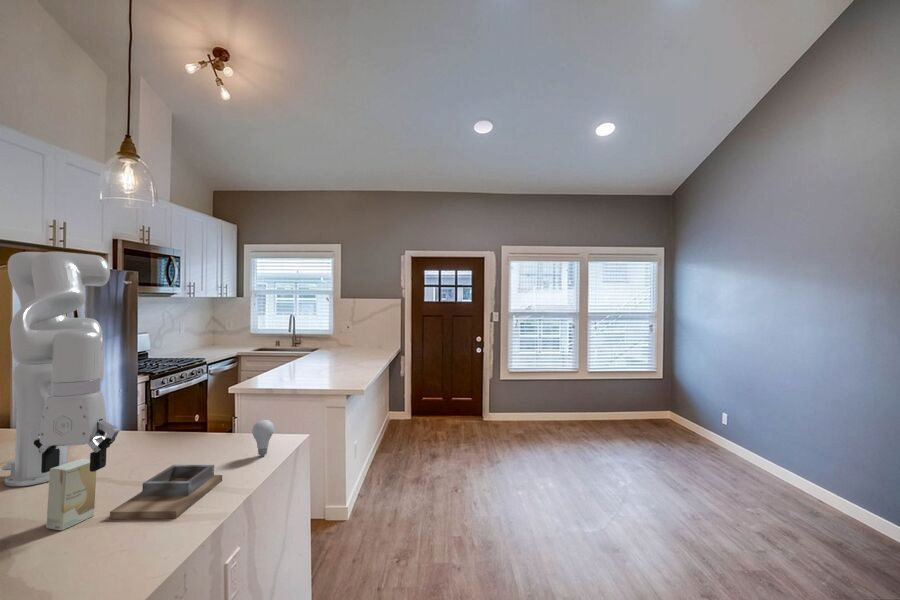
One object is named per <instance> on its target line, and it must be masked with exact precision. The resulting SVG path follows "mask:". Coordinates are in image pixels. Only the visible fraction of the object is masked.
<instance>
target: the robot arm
mask: <svg viewBox="0 0 900 600" xmlns="http://www.w3.org/2000/svg"><path fill="white" fill-rule="evenodd" d="M110 269H111V268H110V266H109V264H108V261H107V260H106V259H105V258H103V257H102V256H101V255H98V254H97V255H96V254H91V253H90V254H89V253H86V254H85V253H77V252H69V251H68V252H66V251H46V252H45V251H44V252H43V251H24V252H23V251H20V252H16V253H13V254H12V255H11V256H10V257H9V258H8V261H7V274H8V278H9V281H10V284H11V286H12V288H13V290H14V291H15V294H16V296H17V297H18V299H19V304H20V308H19V310H18V311H17V312H16V313H15V314H14V316H13V317H12V320H11V323H10V326H9V327H10V328H9V336H10V347H11V354H12V357H13V359H14V361H16V363H18V364H17V365H16V366H15V367H14V369H13V371H12V381H13V387H14V388H13V389H14V394H15V401H16V416H15V417H16V424H15V451H14V459H9V460H8V461H7V463H6V464H4V465H2V466H1V471H10V474H9V475H7V477H6V478H5V479H4V484H5V485H6V486H8V487H26V486H33V485H38V484H39V485H40V484H44V483H47V482H49V477H50V469H51V468H54V467H57V466H61V465H63V464H66V463H68V462H67V455H68V454H67V453H68V446H83V445H86V444H87V445H88V447H89V448H90V449H91V450H92V452H90V454H89V459H90V471H91V472H94V471H96V472H97V471H98V470H101V469H102V468H104V467H106V465H107V449H109V448H110V447H111V445H112V444H113V443H114V442H115V440H116V438H117V437H118V434H119V432H120V428H119V427H117V426H116V425H113V424H111V423H109V422H107V412H106V410H107V409H106V403H105V399H104V395H103V392H101V383H102V382H103V380H104V377H105V376H104V374H105V365H104V364H105V363H104V338H103V337H104V336H103V330H102V326H101V324H100V322H98V320H97V319H94V318H90V317H68V316H67V314H70V313H73V312H75V311H77V310H78V309H80V308H81V307H83V306H84V304H85V302H86V295H85V289H84V286H86V287H87V286H88V287H89V286H90V287H103V286H105V285H106V284H107V283H108V282H109V280H110V276H111V270H110ZM105 436H106V437H105Z"/></svg>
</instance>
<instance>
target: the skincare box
mask: <svg viewBox="0 0 900 600" xmlns="http://www.w3.org/2000/svg"><path fill="white" fill-rule="evenodd" d="M96 482H97V471H94V472H91V471H90V458H80V459H76V460H74V461H69V462H67V463H66V464H63V465H61V466H57V467H54V468H51V469H50V477H49V481H48V495H47V497H48V498H47V510H46V511H47V512H46V528H47V529H50V530H56V531H64V530H66V529H68V528H70V527H73V526H75V525H76V524H79V523H81V522H83V521H86V520H89V519H90V518H92V517H94V516H95V507H96V506H95V503H96V486H97V485H96V484H97V483H96Z"/></svg>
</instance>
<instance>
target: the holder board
mask: <svg viewBox="0 0 900 600" xmlns="http://www.w3.org/2000/svg"><path fill="white" fill-rule="evenodd" d="M222 482H223V474H215V464H172V465H171V466H169V467H167V468H165V469H164V470H162V471H160V472H159V473H157V474H155V475H154V476H153V477H150V478H149V479H147V480H145V481H144V482H143V483H142V490H141V492H139V493H137V494H136V495H134V496H133V497H131V498H130V499H128V500H127V501H124V502H123V503H121V504H120V505H119V506H116V508H114V509H112V510H110V511H109V519H114V520H117V519H119V520H121V519H122V520H123V519H130V520H131V519H136V520H137V519H177V518H179V517H180V516H181V515H182V514H184V513H185V512H186V511H187V510H188V509H190V508H191V507H192V506H193V505H195V504H196V503H197V502H198V501H199V500H201V499H202V498H203V497H204V496H205V495H207V494H208V493H209V492H211V491H212V490H213V489H214V488H216V486H218V485H219V484H220V483H222Z"/></svg>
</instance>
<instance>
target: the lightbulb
mask: <svg viewBox="0 0 900 600" xmlns="http://www.w3.org/2000/svg"><path fill="white" fill-rule="evenodd" d="M274 426H275V425H274V423H273V422H272V421H271V420H269V419H260V420H259V421H257V422H256V423H255V424H254V425H253V427H252V428H251V431H252V432H251V433H252V436H253V438H254V439H255V440H254V441H256V448H257V455H259V456H261V457H264V456H265V455H267V453H268V448H269V445H270V440H271V438H272V436H273V434H274V432H275V427H274Z"/></svg>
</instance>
